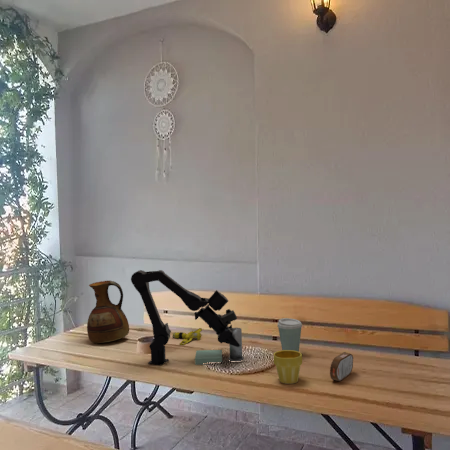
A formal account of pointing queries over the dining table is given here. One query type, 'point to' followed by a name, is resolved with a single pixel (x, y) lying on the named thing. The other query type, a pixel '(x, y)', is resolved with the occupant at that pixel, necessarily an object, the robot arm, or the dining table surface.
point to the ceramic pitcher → (106, 315)
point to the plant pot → (288, 365)
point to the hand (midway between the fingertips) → (239, 344)
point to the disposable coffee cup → (289, 333)
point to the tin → (341, 366)
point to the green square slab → (208, 356)
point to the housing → (235, 351)
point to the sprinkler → (188, 336)
